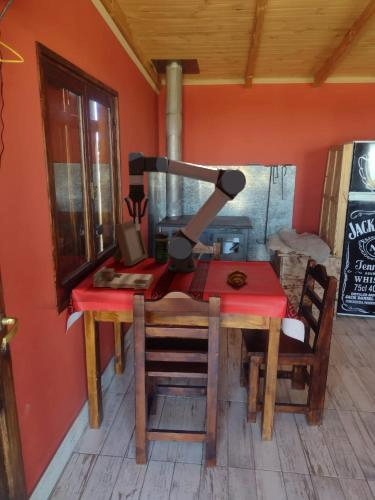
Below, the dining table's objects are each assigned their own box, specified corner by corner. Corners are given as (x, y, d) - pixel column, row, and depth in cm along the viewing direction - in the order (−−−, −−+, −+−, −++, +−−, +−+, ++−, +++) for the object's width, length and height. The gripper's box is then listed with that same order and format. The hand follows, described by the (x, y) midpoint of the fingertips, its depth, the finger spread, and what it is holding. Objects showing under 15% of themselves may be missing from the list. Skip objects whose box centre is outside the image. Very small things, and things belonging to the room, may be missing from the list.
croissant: (230, 281, 193) (224, 268, 192) (247, 273, 191) (241, 260, 190) (231, 294, 173) (223, 279, 172) (250, 285, 171) (242, 271, 170)
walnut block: (114, 278, 177) (114, 268, 176) (111, 281, 172) (111, 271, 171) (104, 277, 178) (104, 268, 177) (101, 281, 173) (101, 271, 172)
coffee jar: (165, 264, 212) (165, 233, 207) (153, 263, 214) (152, 232, 209) (170, 260, 221) (170, 230, 217) (158, 259, 223) (158, 230, 218)
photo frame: (147, 258, 225) (146, 218, 219) (131, 267, 205) (129, 224, 199) (126, 256, 230) (125, 217, 224) (109, 265, 210) (106, 223, 204)
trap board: (153, 279, 184) (153, 268, 183) (147, 289, 169) (146, 277, 167) (104, 277, 187) (103, 266, 185) (93, 287, 171) (93, 275, 170)
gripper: (150, 183, 183) (151, 229, 188) (125, 183, 184) (127, 228, 189) (147, 184, 175) (148, 231, 181) (121, 184, 177) (123, 231, 182)
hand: (137, 230), depth 185 cm, fingers closed
